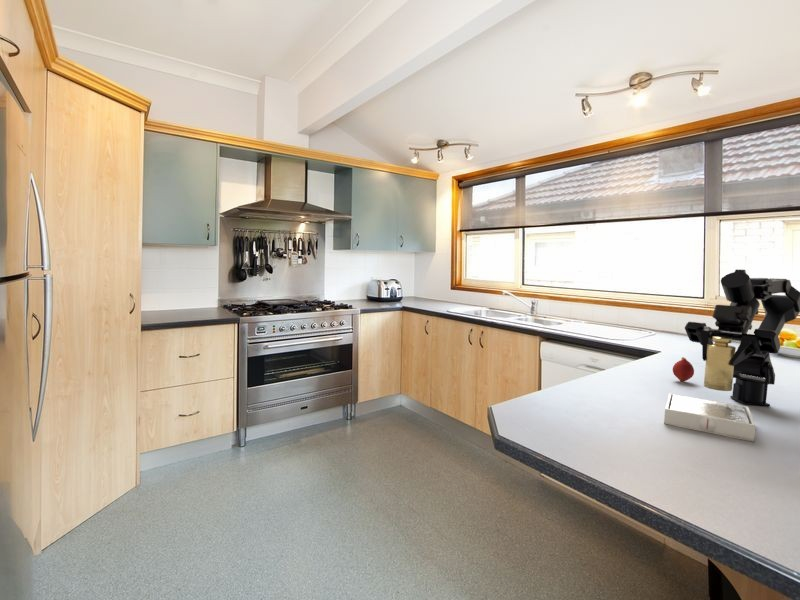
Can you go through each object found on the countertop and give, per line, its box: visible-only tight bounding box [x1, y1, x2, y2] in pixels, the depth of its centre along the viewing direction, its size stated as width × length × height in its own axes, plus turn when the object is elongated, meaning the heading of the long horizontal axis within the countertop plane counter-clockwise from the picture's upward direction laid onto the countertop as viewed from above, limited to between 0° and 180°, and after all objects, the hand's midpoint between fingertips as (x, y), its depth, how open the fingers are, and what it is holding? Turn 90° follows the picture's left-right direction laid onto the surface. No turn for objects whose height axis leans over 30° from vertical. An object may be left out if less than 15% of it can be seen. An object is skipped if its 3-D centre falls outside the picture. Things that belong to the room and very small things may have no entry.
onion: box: [672, 356, 695, 383], centre depth 139 cm, size 6×6×8 cm
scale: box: [663, 393, 756, 442], centre depth 100 cm, size 16×16×4 cm
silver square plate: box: [670, 394, 749, 424], centre depth 100 cm, size 14×14×1 cm
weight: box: [703, 337, 737, 392], centre depth 106 cm, size 6×6×12 cm
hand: (717, 362), depth 105 cm, fingers closed on weight, 6 cm apart
